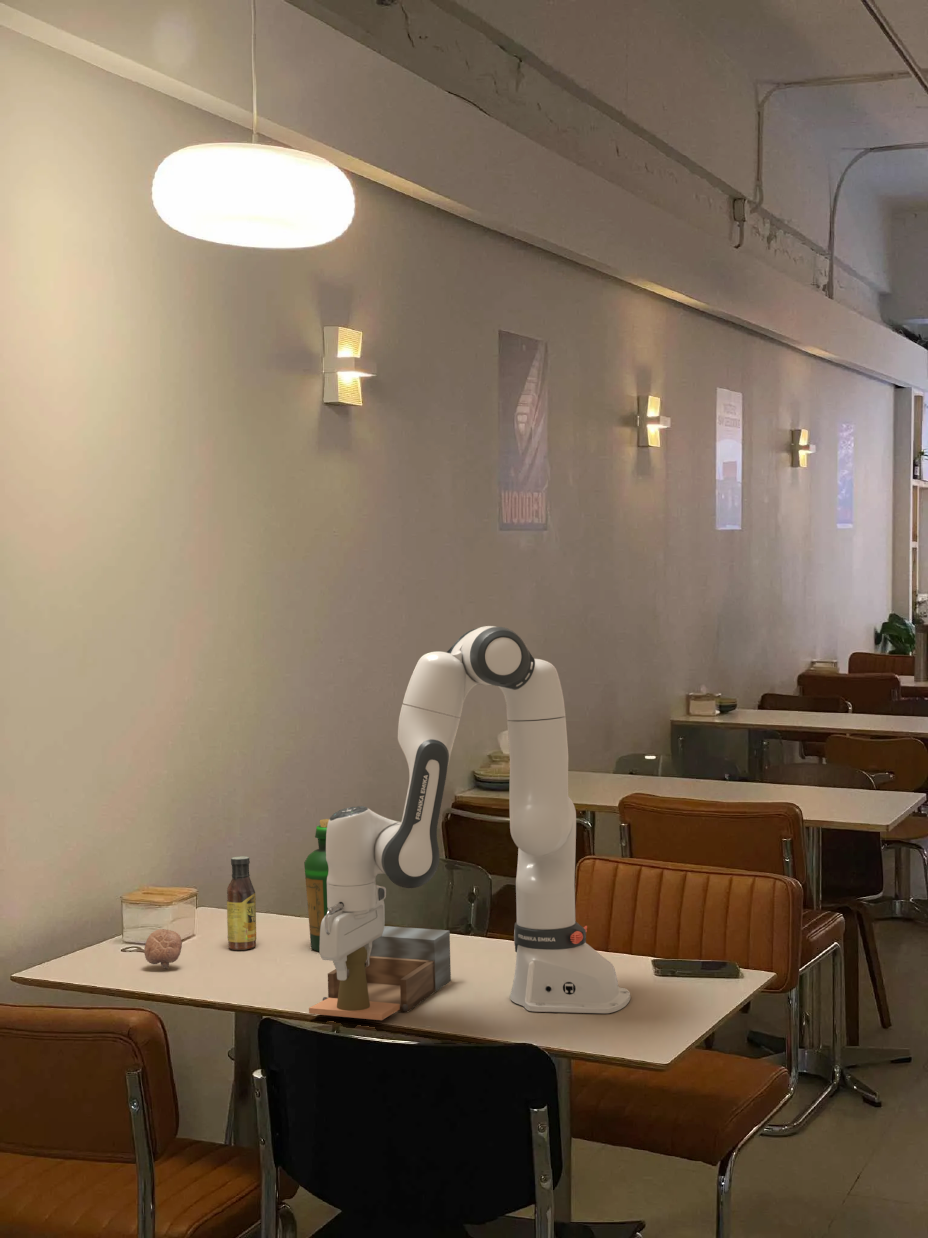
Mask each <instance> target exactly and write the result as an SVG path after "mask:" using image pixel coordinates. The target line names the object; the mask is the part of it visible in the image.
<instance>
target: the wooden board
mask: <svg viewBox="0 0 928 1238" xmlns="http://www.w3.org/2000/svg"><path fill="white" fill-rule="evenodd" d="M337 1000H338V998H327V999H325V1000H323V999H322V1000H321V1001H319V1002H318V1003H316V1004H314V1005H312V1006H310V1007H309V1008H308V1014H313V1015H322V1016H331V1017H340V1018H341V1017H342V1018H354V1019H364V1020H365V1019H366V1020H374V1021H375V1020H376V1021H383V1020H385V1019H386V1018H388V1017H390V1016H392V1015H393V1014H395V1013H397V1012H396V1011H398V1010H400V1004H395V1003H383V1002H372V1001H369V1002H370V1007H369V1008H367V1009H363V1010H355V1011H348V1010H341V1009H338V1008H337Z"/></svg>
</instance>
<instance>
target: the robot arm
mask: <svg viewBox="0 0 928 1238" xmlns="http://www.w3.org/2000/svg"><path fill="white" fill-rule="evenodd" d="M557 670H558V669H557V668H556V666H554V665H553V664H552V663H551V662H549V661H547V660H544V659H540V658H534V657H533V655H532V653H531V652H530V651H529V649H528V648H527V646H526V644H525V642H524V641H523V639H522V638H521V636H519V634H518V633H516V632H514V631H513V630H511V629H509V628H507V627H502V626H495V625H487V626H486V625H484V626H481V627H477V628H473V629H471V630H468V631H466V632H465V633H463V635H461V636H460V637H459V638H458V639H457V640H456V642H454V643H453V644H452V646H451V647H450V648H448V650H447V651H431V652H428V653H424V654H423V655H422V656H421V657H419V659H418V661H417V663H416V665H415V667H414V670H413V672H412V674H411V676H410V679H409V681H408V684H407V687H406V690H405V693H404V697H403V700H402V704H401V708H400V713H399V716H398V727H397V742H398V744H399V746H400V748H401V750H402V753H403V754H404V757H405V760H406V762H407V766H408V772H409V777H408V778H409V779H408V781H409V782H408V786H407V791H406V792H407V794H406V796H405V801H404V808H403V811H402V813H403V814H402V817H401V821H398V820H393V819H390V818H388V817H385V816H383V815H380V814H378V813H377V812H375V811H373V810H371V809H370V808H369V807H367V806H363V805H361V806H360V805H358V806H350V807H346V808H343V809H340V810H338V811H335V812H334V813H333V814H332V815H331V816H330V817H329V818H328V819H329V821H328V825H327V833H326V860H327V863H328V868H329V872H328V876H327V907H328V910H327V911H328V912H327V914H326V916H325V917H324V918H323V919H322V922H321V928H320V952H319V956H320V957H321V959H322V960H323V961H330V962H331V961H332V963H333V966H334V968H335V969H336V970H337V979H338V980H343V981H344V980H346V979H348V978H349V969H347V966H346V962H345V961H347V955H349V954H351V953H353V952H354V951H356V950H358V949H359V948H361V947H363V946H364V947H365V948H366V950H367V960H366V962H365V963H364V965H365V968H366V967H367V966H369V957H370V953H371V949H372V941H374V940H375V939H377V938H379V937H381V936H382V934H383V931H384V926H385V922H386V921H385V918H386V917H385V916H386V915H385V914H386V913H385V910H386V909H385V907H386V906H385V901H384V900H385V899H386V897H387V888H386V887H385V886H380V885H378V884H376V877H377V876H378V874H379V875H380V874H385V875H386V876H387V878H388V879H389V880H390V881H391V882H392V883H393V884H394V885H396V886H398V887H400V888H403V889H414V888H419V887H421V886H423V885H425V884H427V883H428V882H429V881H430V880H431V879H432V878H433V877H434V876H435V874H436V872H437V871H438V869H439V868H438V867H439V865H440V848H439V843H438V836H437V835H438V823H439V819H440V818H439V817H440V812H441V809H442V808H441V806H442V801H443V797H444V791H445V785H446V782H447V781H446V780H447V774H448V773H447V772H448V768H449V763H450V760H451V754H452V751H453V746H454V744H455V740H456V735H457V732H458V728H459V726H460V721H461V716H462V712H463V707H464V702H465V701H466V698H467V696H468V694H469V693H470V691H471V690H472V689H473V688H474V687H475V686H478V685H480V686H485V687H493V686H495V687H498V689H500V691H501V692H502V694H503V696H504V701H505V704H506V719H507V720H506V724H507V726H506V727H507V736H508V753H509V791H508V793H509V796H508V797H509V829H510V830H509V831H510V835H511V839H512V840H513V842H514V844H515V846H516V847H517V848H518V849H517V850H518V851H517V854H518V855H517V867H516V877H515V893H516V894H515V896H516V897H515V898H516V899H515V902H516V922H514V932H513V933H514V934H513V943H514V944H513V945H514V949H515V950H514V951H515V953H516V956H515V957H516V958H515V969H514V974H513V975H514V977H513V981H512V982H513V983H512V987H511V991H510V995H509V999H510V1000H511V1001H512V1002H513V1003H515V1004H517V1005H520V1006H522V1007H523V1008H525V1010H527V1011H529V1012H540V1013H541V1012H545V1013H573V1014H574V1013H578V1014H579V1013H580V1014H582V1013H583V1014H610V1013H615V1012H618V1011H620V1010H622V1009H623V1008H624V1007H626V1006H627V1005H628V1004H629V1002H630V1001H631V993H630V990H628V989H627V988H624V987H620V986H619V982H618V981H619V980H618V975H617V972H616V969H615V967H614V965H613V963H612V962H611V961H610V960H608V959H607V958H606V957H604V956H603V955H602V954H600V953H599V952H598V951H597V950H596V949H594V948H593V947H592V946H591V945H590V944H588V943H587V933H588V930H587V929H588V925H584V926H582V925H580V924H579V922H577V921H576V894H575V892H576V890H575V884H576V883H575V877H576V874H575V873H576V850H577V849H576V847H577V846H576V842H577V841H576V839H577V811H576V806H575V804H574V803H573V800H572V799H571V798H570V796H569V748H568V747H569V745H568V731H567V719H566V708H565V707H566V706H565V700H564V694H563V688H562V684H561V680H560V677H559V673H558V671H557Z"/></svg>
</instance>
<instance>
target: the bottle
mask: <svg viewBox="0 0 928 1238" xmlns="http://www.w3.org/2000/svg"><path fill="white" fill-rule="evenodd" d="M329 819H330V818H325V819H324V818H323V819H320V820H319V825H317V826H316V829H315V833H314V834H315V835H314V837H315V838H317V845H318V848H317V849H315V850H314V851H312V852H310V854H308V855H307V857H306V859H305V861H304V876H305V888H306V901H307V902H306V903H307V914H308V923H309V924H308V926H309V935H310V936H309V938H310V948H311V949H312V950H314V951H316V952H319V953H320V928H321V922H322V919H323V918H324V917H325V916H326V914H327V912H328V911H327V910H328V907H327V876H328V872H329V868H328V863H327V860H326V833H327V825H328V821H329Z"/></svg>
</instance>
